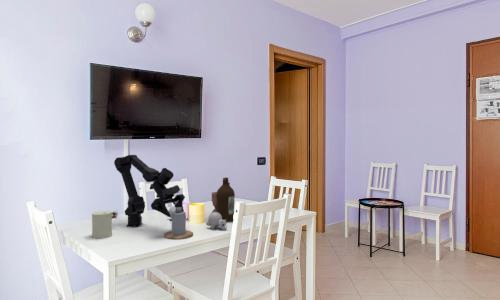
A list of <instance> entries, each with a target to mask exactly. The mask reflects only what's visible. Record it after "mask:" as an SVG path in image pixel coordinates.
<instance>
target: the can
mask: <svg viewBox="0 0 500 300" xmlns="http://www.w3.org/2000/svg"><path fill="white" fill-rule="evenodd" d="M112 212H113V211H111V210H98V211H93V212H92V213H91V231H92V233H91V237H92V238H93V239H105V238H110V237H112V236H113V226H112V225H113V217H112Z"/></svg>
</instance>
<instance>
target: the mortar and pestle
mask: <svg viewBox="0 0 500 300" xmlns="http://www.w3.org/2000/svg"><path fill="white" fill-rule="evenodd" d="M228 184H229V185H230V186H231V184H230V181H229V182H228ZM216 194H217V191H213V192H211V202H212V206H213V207H214V209H212V211H211V213H213V212H217V197H216Z"/></svg>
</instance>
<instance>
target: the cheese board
mask: <svg viewBox="0 0 500 300" xmlns="http://www.w3.org/2000/svg"><path fill="white" fill-rule="evenodd" d="M163 235H164V236H163V237H164V238H165V239H169V240H184V239H190V238H191V237H193V236H194V232H193V231H191V230H188V229H187V230H186V234H184V235H180V236H175V235H172V230H169V231H167V232H164V234H163Z"/></svg>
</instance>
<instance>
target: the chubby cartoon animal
mask: <svg viewBox="0 0 500 300" xmlns="http://www.w3.org/2000/svg"><path fill="white" fill-rule="evenodd" d="M205 225H206V226H207V227H210V230H215V229H218V228H221V230H223V231H225V230H227V228H228V225H227V222H226V220H222V216H221V215H220V214H219V213H218V212H213V213H212V212H211V213H210V214H209V215H208V219H207V221H206V222H205Z"/></svg>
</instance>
